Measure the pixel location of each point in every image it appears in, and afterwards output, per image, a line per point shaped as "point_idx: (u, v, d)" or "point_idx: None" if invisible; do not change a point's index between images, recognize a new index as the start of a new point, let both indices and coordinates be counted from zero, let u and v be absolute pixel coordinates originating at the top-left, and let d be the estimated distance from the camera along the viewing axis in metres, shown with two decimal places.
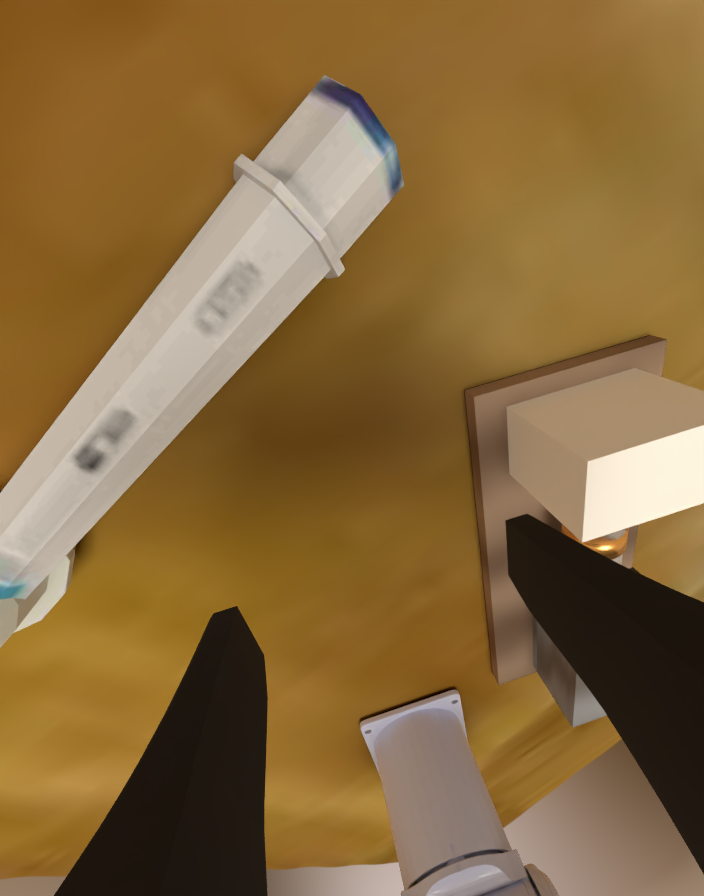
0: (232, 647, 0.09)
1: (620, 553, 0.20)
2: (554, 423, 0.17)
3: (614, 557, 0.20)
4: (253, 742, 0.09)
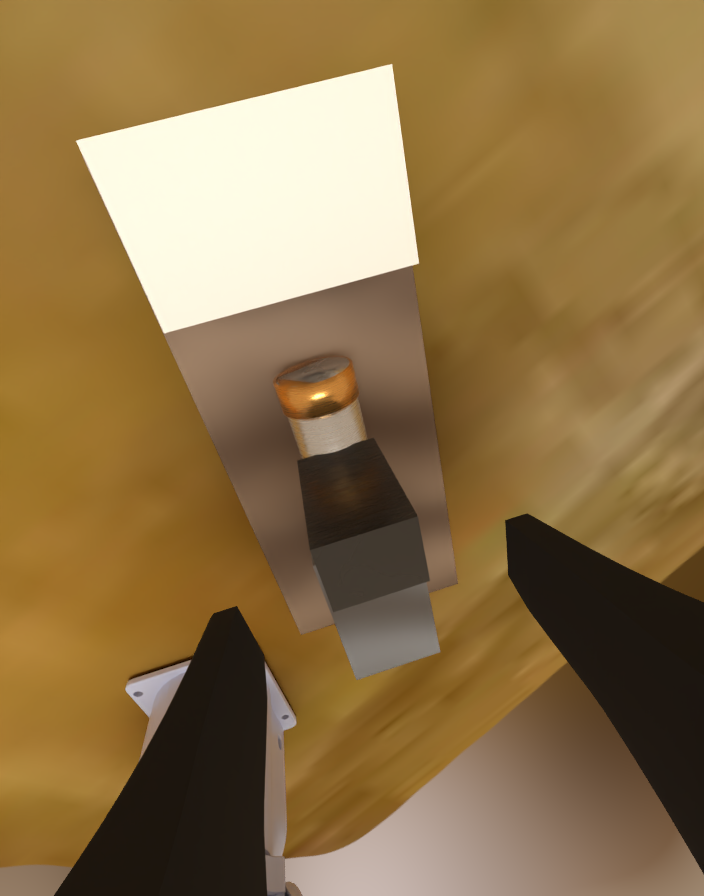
0: (232, 647, 0.09)
1: (335, 407, 0.14)
2: None
3: (326, 412, 0.14)
4: (253, 742, 0.09)
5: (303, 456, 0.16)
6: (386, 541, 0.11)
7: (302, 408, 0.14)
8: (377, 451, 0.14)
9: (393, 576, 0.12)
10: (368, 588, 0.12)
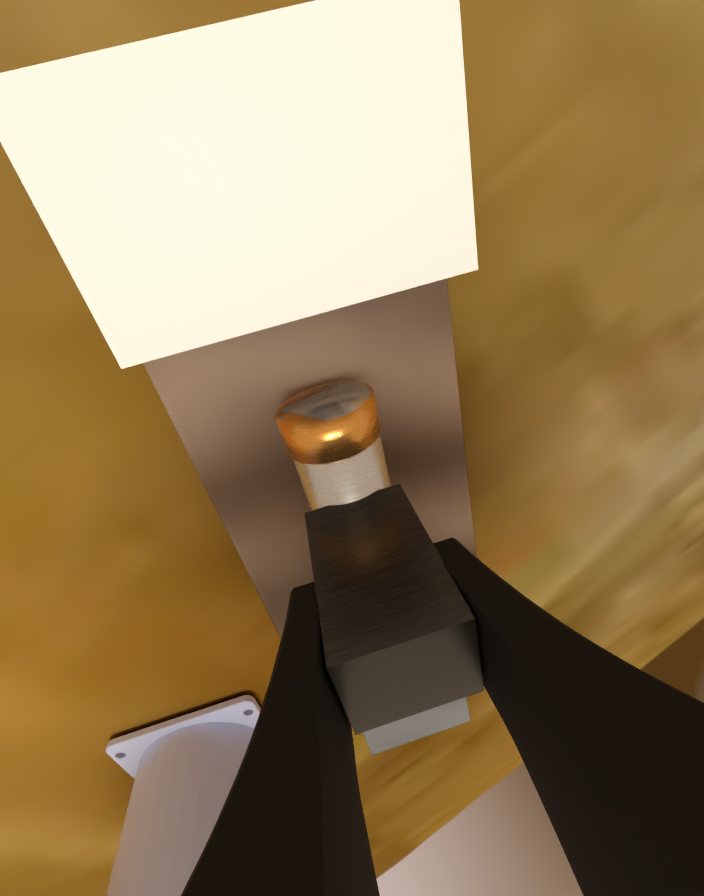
0: None
1: (353, 449, 0.11)
2: None
3: (342, 457, 0.11)
4: (343, 711, 0.09)
5: (312, 505, 0.13)
6: (431, 649, 0.08)
7: (312, 451, 0.11)
8: (406, 505, 0.11)
9: (436, 689, 0.09)
10: (403, 705, 0.09)
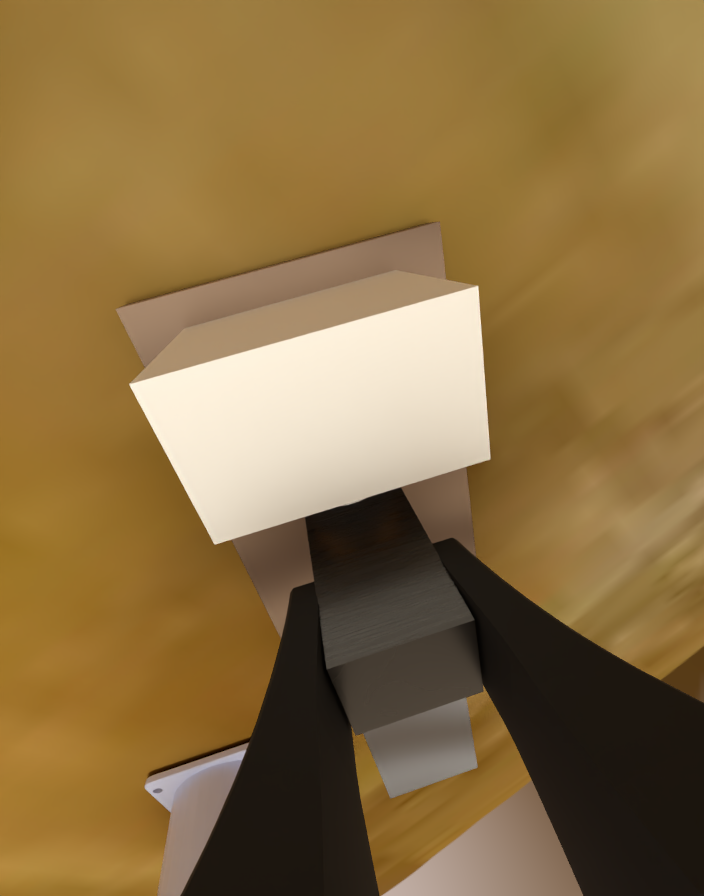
0: None
1: None
2: (194, 339, 0.10)
3: None
4: (343, 711, 0.09)
5: None
6: (430, 651, 0.08)
7: None
8: (406, 507, 0.11)
9: (436, 690, 0.09)
10: (403, 705, 0.09)
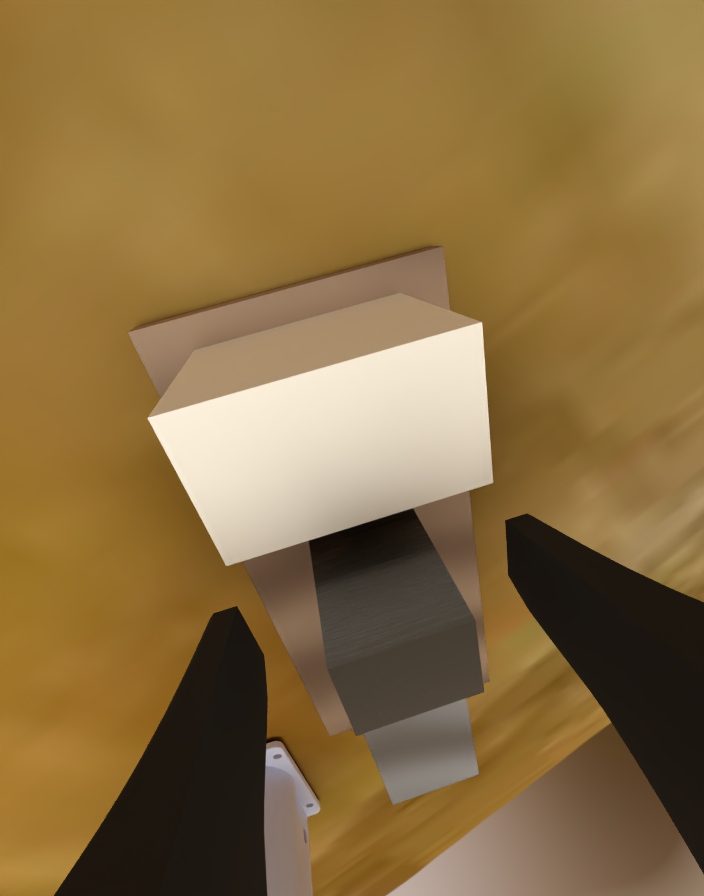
0: (232, 647, 0.09)
1: None
2: (205, 365, 0.10)
3: None
4: (253, 742, 0.09)
5: None
6: (431, 651, 0.08)
7: None
8: None
9: (436, 690, 0.09)
10: (404, 706, 0.09)
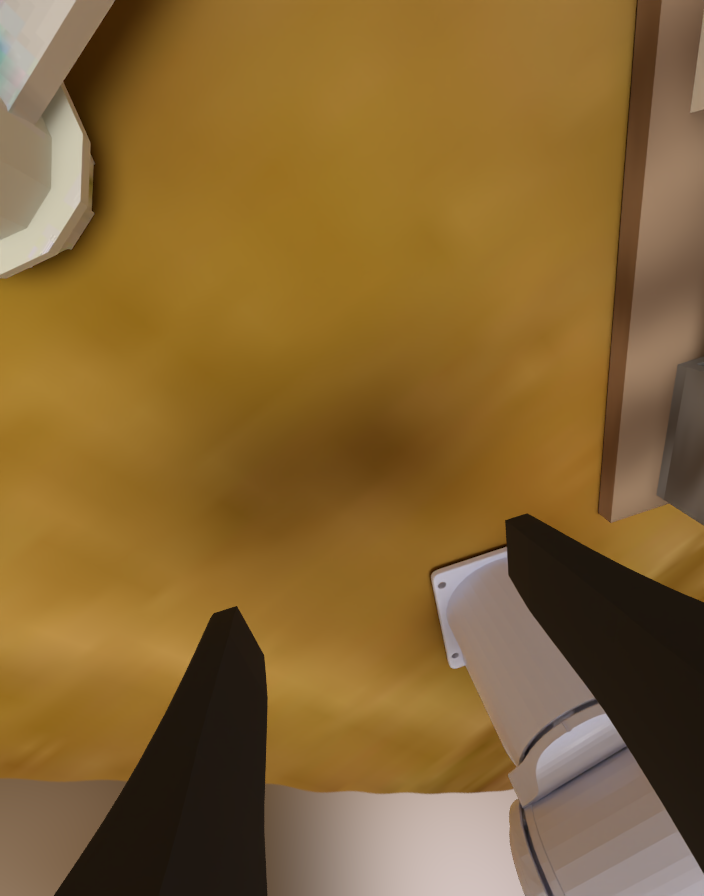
0: (232, 647, 0.09)
1: None
2: None
3: None
4: (253, 742, 0.09)
5: None
6: None
7: None
8: None
9: None
10: None
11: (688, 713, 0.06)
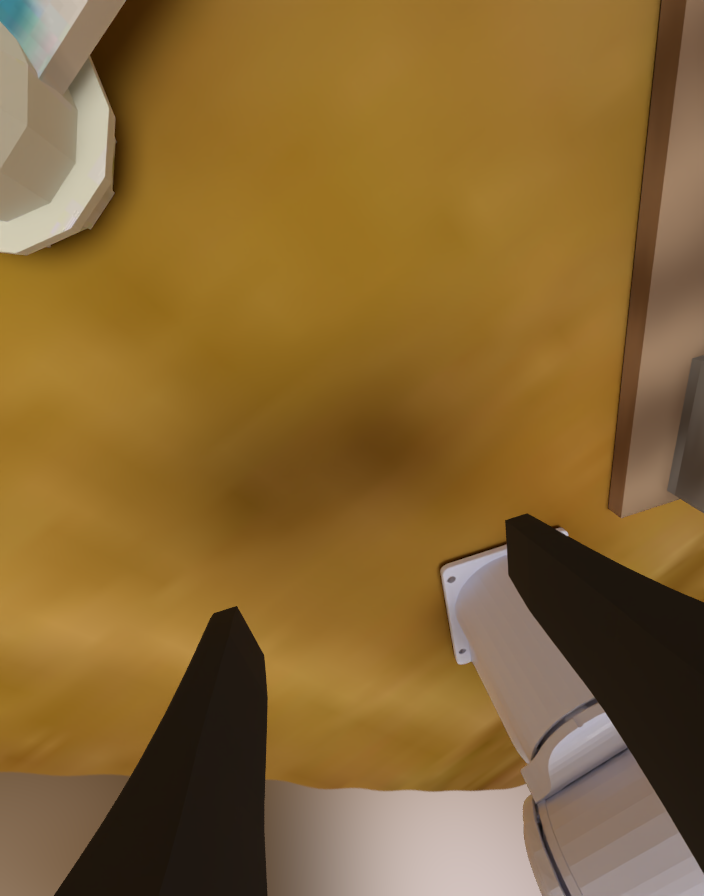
0: (232, 647, 0.09)
1: None
2: None
3: None
4: (253, 742, 0.09)
5: None
6: None
7: None
8: None
9: None
10: None
11: (688, 713, 0.06)
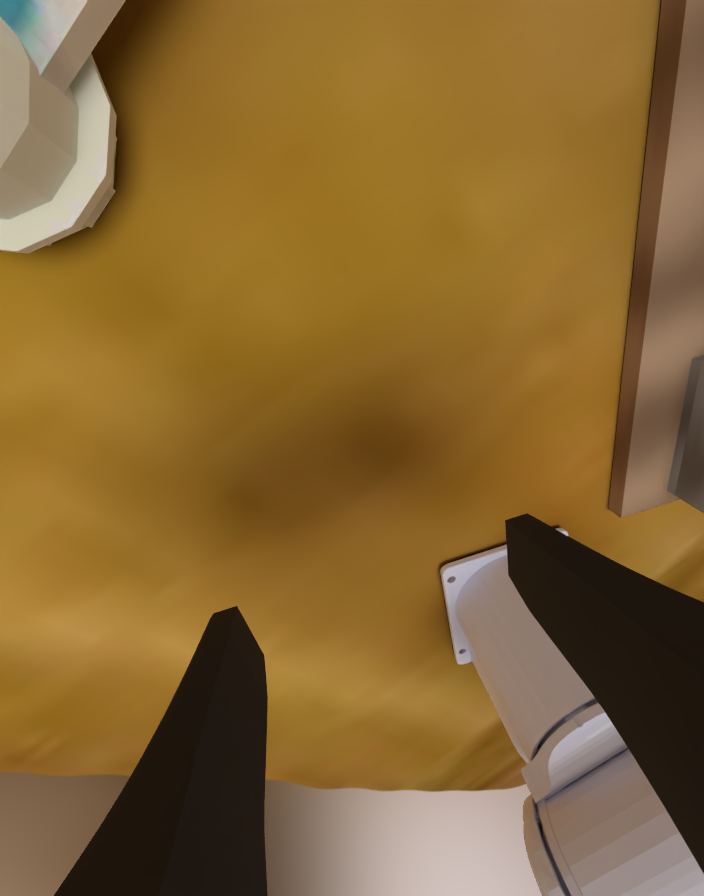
0: (232, 647, 0.09)
1: None
2: None
3: None
4: (253, 742, 0.09)
5: None
6: None
7: None
8: None
9: None
10: None
11: (688, 713, 0.06)
